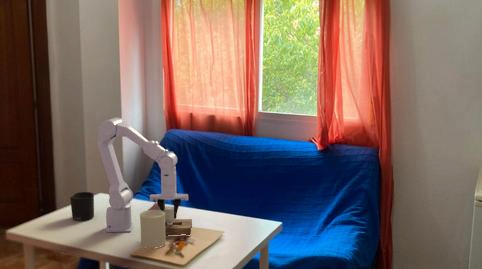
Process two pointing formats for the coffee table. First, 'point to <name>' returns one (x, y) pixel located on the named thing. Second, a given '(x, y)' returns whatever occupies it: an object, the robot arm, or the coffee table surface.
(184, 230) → the keyhole plate
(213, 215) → the coffee table surface
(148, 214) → the can
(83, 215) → the pen holder
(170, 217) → the steel peg
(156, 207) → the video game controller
